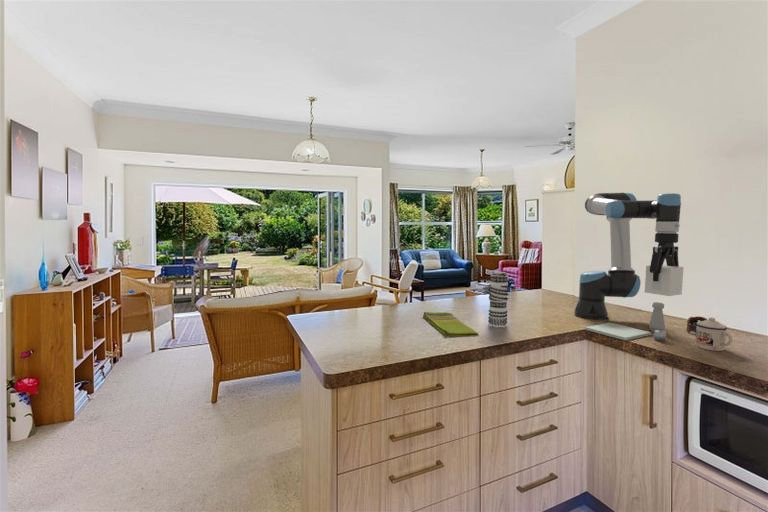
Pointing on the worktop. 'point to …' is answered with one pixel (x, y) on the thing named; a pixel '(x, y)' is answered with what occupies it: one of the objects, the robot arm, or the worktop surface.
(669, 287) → the white block
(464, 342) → the worktop surface
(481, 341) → the worktop surface
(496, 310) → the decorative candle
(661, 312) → the salt shaker
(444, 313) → the dish towel
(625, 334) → the board
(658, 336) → the cylinder
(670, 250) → the robot arm
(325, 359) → the worktop surface
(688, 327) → the pottery mug
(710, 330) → the teacup with lid
